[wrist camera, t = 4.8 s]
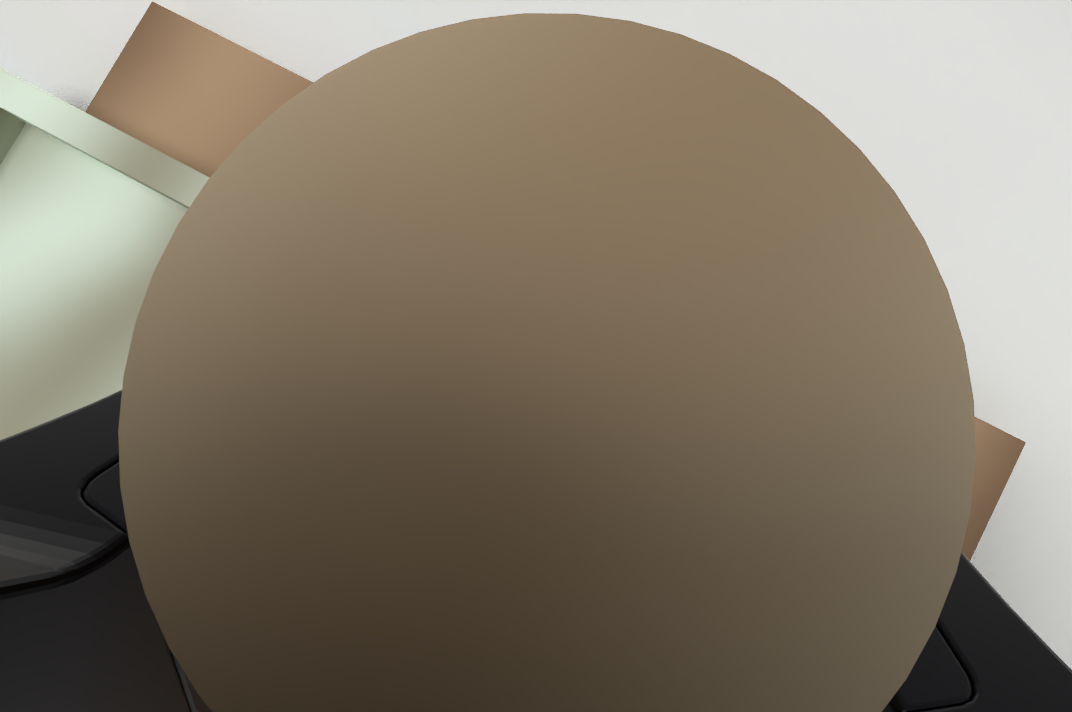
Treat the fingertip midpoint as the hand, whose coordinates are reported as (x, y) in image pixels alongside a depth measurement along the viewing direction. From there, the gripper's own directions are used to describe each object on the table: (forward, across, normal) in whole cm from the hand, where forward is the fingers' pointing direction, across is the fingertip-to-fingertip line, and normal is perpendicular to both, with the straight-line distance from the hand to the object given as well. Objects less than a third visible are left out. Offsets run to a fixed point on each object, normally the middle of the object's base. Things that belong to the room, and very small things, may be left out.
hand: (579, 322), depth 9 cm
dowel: (+4, 0, +6) cm, 7 cm away
